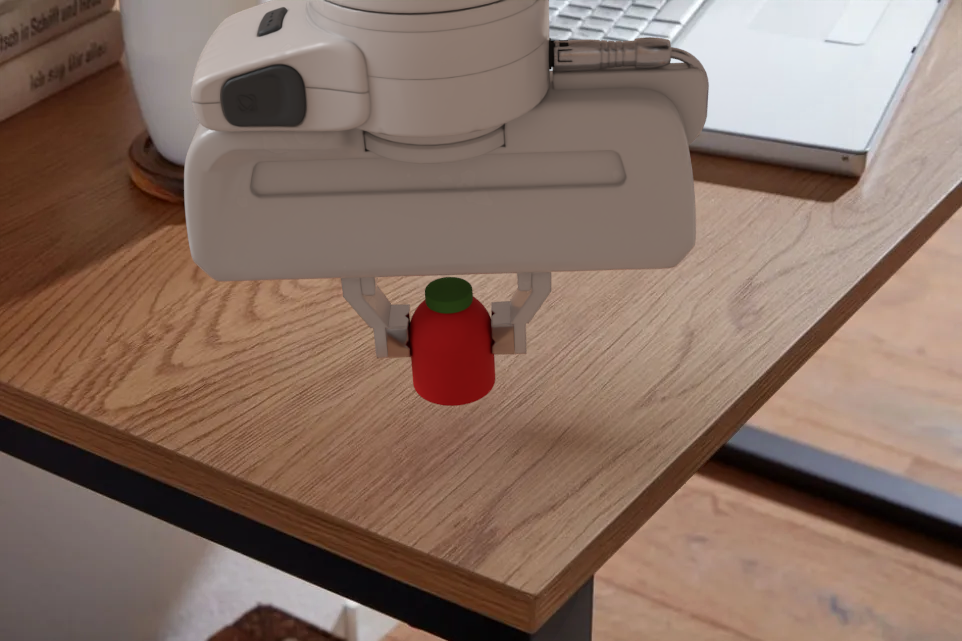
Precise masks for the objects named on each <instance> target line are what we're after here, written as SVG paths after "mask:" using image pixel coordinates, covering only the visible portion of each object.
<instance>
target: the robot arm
mask: <svg viewBox="0 0 962 641" xmlns="http://www.w3.org/2000/svg"><path fill="white" fill-rule="evenodd" d="M672 59H674V60H676V61H680V62H671V61H672ZM192 76H193V77H192V80H191V86H190V100H191V105H192V110H193V113H194V116H195V118H196V120H197V121H198V124H197V126H196V129H195V131H194V134H193V137H192V139H191V142H190V145H189V147H188V149H187V153H186V156H185V160H184V170H183V190H184V191H183V197H184V198H183V200H184V201H183V202H184V214H185V225H186V233H187V240H188V241H187V242H188V247H189V252H190V257H191V259H192V261H193V263H194V264H195V265H196V266H197V267H198V268H199V269H200V270H201V271H203V272H204V273H205V274H206V275H207V276H208V277H210V279H212V280H213V281H215V282H218V283H219V282H221V283H228V282H230V283H231V282H255V281H257V282H259V281H284V280H285V281H291V280H295V281H296V280H329V279H340V283H341V292H342V297H343V299H344V300H345V301H346V302H347V303H348V304H349V306H350V307H351V308H352V309H353V311H355V312H356V313H357V315H358V316H360V318H361V319H362V320H363V321H364V323H365V324H366V325H367V326H368V327H369V328H370V329H373V338H374V347H375V356H376V358H377V359H400V358H404V359H405V358H411V347H410V340H409V334H410V328H409V326H410V321H411V318H412V313H411V312H412V310H411V304H401V303H399V304H392V303H391V301H390V300H389V298H388V297H387V295H386V294H385V293H384V292H383V290H382V289H381V287H380V286H379V285H378V282H379V278H394V277H395V278H396V277H427V276H428V277H430V276H432V277H433V276H434V277H435V276H458V275H459V276H464V275H467V276H468V275H499V274H500V275H501V274H502V275H503V274H516V277H517V278H516V279H517V281H516V282H517V288H516V289H515V291H514V293H513V294H512V296H511V297H510V300H504V301H491V303H490V304H491V307H490V308H491V309H490V311H491V312H490V313H491V315H490V317H491V331H492V354H493V355H494V356H498V355H499V356H501V355H502V356H504V355H527V324H530V323H531V321H532V320H533V318H534V317H535V316H536V314H537V312H538V311H539V309H540V308H541V307H542V305H543V304H544V303H545V301H546V299H547V298H548V297H549V296H550V293H552V273H566V272H567V273H568V272H570V273H571V272H599V271H601V272H603V271H635V270H636V271H637V270H639V271H640V270H667V269H674V268H676V267H677V266H679V265H680V263H682V262H683V261H684V260H685V258H686V257H687V256H688V255H689V254H690V253H691V252H692V251H693V249H694V248H695V246H696V243H697V208H696V206H697V205H696V193H695V191H696V190H695V180H694V174H693V165H692V160H691V152H690V148H689V146H690V145H691V144H692V143H693V142H694V141H695V140H696V139H697V138H698V137H699V136H700V134H701V133H702V132H703V129H704V128H705V125H706V122H707V118H708V108H709V93H710V92H709V90H710V82H709V77H708V73H707V71H706V68H705V67H704V65H703V64H702V63H701V61H700V60H699V59H698V58H697V57H696V56H695V55H694V54H692V53H690V52H689V51H687V50H684V49H681V48H679V47H672V45H671V40H670V39H667V38H662V37H653V36H652V37H651V36H649V37H637V38H634V40H623V41H622V40H615V41H614V40H608V41H607V40H605V39H601V40H600V39H592V38H591V39H589V38H588V39H558V40H555V39H554V40H553V39H552V38H551V37H550V0H269V1H265V2H263V3H260V4H257V5H254V6H251V7H249V8H248V7H247V8H246V9H243V10H240V11H237V12H236V13H232V14H231V15H229V16H227V17H225V18H224V19H223V20H222V21H221V22H220V24H218V26H217V27H216V29H215V30H213V33H211V35H210V37H209V38H208V40H207V42H206V43H205V45H204V47H203V49H202V51H201V53H200V55H199V57H198V59H197V62H196V65H195V68H194V71H193V75H192Z"/></svg>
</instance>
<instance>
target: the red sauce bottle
mask: <svg viewBox="0 0 962 641" xmlns="http://www.w3.org/2000/svg"><path fill="white" fill-rule="evenodd" d="M409 328H410V334H409V340H410V347H411V357H410V362H411V363H410V364H411V374H412V385H413V389H414V392H416V393H417V395H419V397H421V398H422V399H423V400H425V401H427V402H428V403H432V404H435V405H439V406H447V407H457V406H464V405H470V404H472V403H475V402H477V401H480V400H481V399H483V398H485V397H486V396H487V395H488V394H490V393H491V391H492V390H493V389H494V386H495V384H496V364H495V362H496V361H495V355H493V354H492V331H491V315H490V313H489V311H488V310H487V308H486V306H485V305H484V304H483V303H482V302H481V301H480V300H479V299H477V297H476V296H474V294H473V285H471V283H470V282H469V281H468V280H466V279H464V278H462V277H456V276H443V277H439V278H436V279H433V280H432V281H430V282H429V283H427V285H426V286H425V287H424V300H423V301H421V302H420V303H419V304H418V306H417V307H416V308H415V310H414V312H413V313H412V315H411V321H410V326H409Z"/></svg>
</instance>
